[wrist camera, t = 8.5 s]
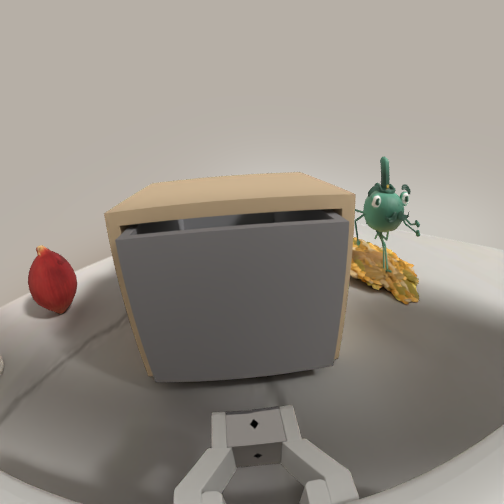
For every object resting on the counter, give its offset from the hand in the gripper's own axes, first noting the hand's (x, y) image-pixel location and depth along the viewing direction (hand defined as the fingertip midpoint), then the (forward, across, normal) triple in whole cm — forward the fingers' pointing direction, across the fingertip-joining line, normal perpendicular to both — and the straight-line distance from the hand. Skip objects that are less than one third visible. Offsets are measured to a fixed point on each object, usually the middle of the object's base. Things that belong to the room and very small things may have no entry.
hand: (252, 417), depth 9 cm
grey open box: (+17, 0, +4) cm, 17 cm away
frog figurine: (+22, -17, +6) cm, 29 cm away
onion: (+17, +20, +6) cm, 27 cm away
